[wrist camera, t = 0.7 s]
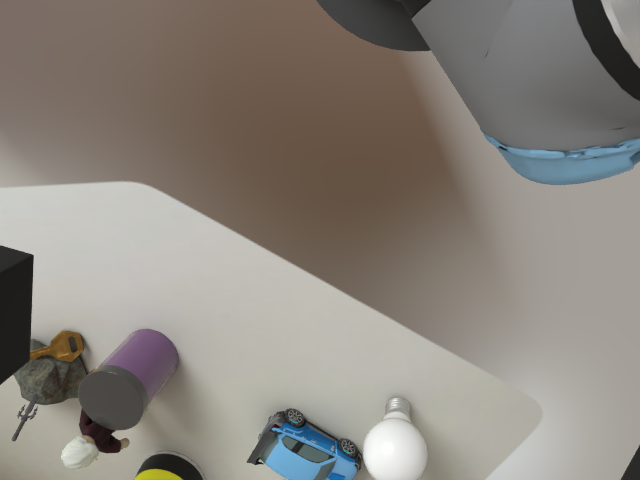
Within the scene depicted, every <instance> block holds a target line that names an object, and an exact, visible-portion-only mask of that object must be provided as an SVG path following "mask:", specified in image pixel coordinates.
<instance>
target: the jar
mask: <svg viewBox="0 0 640 480" xmlns="http://www.w3.org/2000/svg"><path fill="white" fill-rule="evenodd" d="M177 365H178V354H177V351H176V348H175V347H174V345H173V343H172V342H171V341H170V340H169V339H168V338H167V337H166V336H164V335H163V334H161V333H159V332H157V331H154V330H150V329H142V330H138V331H135V332H133V333H132V334H130V335H129V336H128V337H127V338H126V339H125V340H124V341H123V342H122V343H121V344H120V345H119V346H118V347H117V348H116V349H115V350H114V351H113V352H112V353H111V354H110V355H109V356H108V357H107V358H106V359H105V360H104V361H103V362H102V363H101V364H100V365H99V366H98V367H97V368H95V369H93V370H92V371H91V372H90V373H89V374H88V375H87V376H86V377H85V378H84V379H83V380H82V381H81V383H80V386H79V391H78V396H79V401H80V404H81V406H82V408H83V410H84V411H85V413H86V414H87V415H88V416H89V417H90V418H91V419H92V420H93V421H95V422H96V423H97V424H99V425H101V426H103V427H105V428H108V429H112V430H126V429H129V428H132V427H133V426H135V425H136V424H137V423H138V422H139V421H140V420H141V418H142V417H143V416H144V414H145V413H146V411H147V408H148V406H149V404H150V403H151V402H152V400H153V399H154V398H155V397H156V395H157V394H158V393H159V391H160V390H161V389H162V387H163V386H164V385H165V383H166V382H167V381H168V379H169V378H170V377H171V375H172V374H173V373H174V371H175V370H176V368H177Z"/></svg>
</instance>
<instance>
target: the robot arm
mask: <svg viewBox="0 0 640 480" xmlns="http://www.w3.org/2000/svg"><path fill="white" fill-rule="evenodd" d="M395 1H399V2H401V3H402V5H403V6H404V8H405V9H406V11H407V12H408V14H409V16H410V17H411V20H412V21H413V23H414V24H415V26H416V27H417V29H418V31H419V32H420V34H421V35H422V37H423V38H424V40H425V42H426V43H427V45H428V46H429V48H430V49H431V51H432V52H433V54H434V56H435V57H436V59H437V60H438V62H439V63H440V65H441V67H442V68H443V70H444V71H445V73H446V74H447V76H448V77H449V79H450V81H451V82H452V84H453V85H454V87H455V88H456V90H457V92H458V93H459V95H460V96H461V98H462V99H463V101H464V103H465V104H466V106H467V107H468V109H469V110H470V112H471V113H472V115H473V117H474V118H475V120H476V121H477V123H478V124H479V126H480V129H481V131H482V132H483V133H484V136H485V137H486V139H487V140H488V141H489V142H490V143H491V144H493V145H494V146H496V148H497V149H498V150H499V151H500V153H501V154H502V155H503V157H504V158H505V159H506V161H507V162H508V163H509V164H510V165H511V167H512V168H513V169H514V170H515V171H516V172H517V173H518V174H520V175H521V176H523V177H525V178H527V179H529V180H531V181H534V182H538V183H542V184H550V185H567V184H578V183H585V182H590V181H596V180H600V179H604V178H608V177H611V176H614V175H617V174H621V173H624V172H626V171H629V170H631V169H633V168H634V165H635V164H637V163H638V162H639V161H640V0H395ZM33 258H34V255H32V254H28V253H25V252H22V251H18V250H15V249H11V248H8V247H4V246H0V385H1V384H2V383H3V382H4V381H6V380H7V379H8V378H9V377H10V376H12V375H13V374H14V373H15V372H17V371H18V370H19V369H20V368H22V367H23V366H24V365H25V364H26V363H28V362H29V361H30V340H31V313H32V285H33ZM621 480H640V446H639V448H638V450H637V451H636V453H635V455H634V457H633V458H632V460H631V462H630V464H629V466H628V467H627V469H626V471H625V473H624V475H623V477H622V478H621Z"/></svg>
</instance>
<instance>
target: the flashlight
mask: <svg viewBox="0 0 640 480" xmlns="http://www.w3.org/2000/svg"><path fill="white" fill-rule="evenodd" d="M134 480H205V477H204V474H203V473H202V471H201V469H200V468H199V467H198V466H197V465H196V464H195V463H194V462H193V461H192V460H190V459H189V458H187V457H186V456H184V455H181V454H179V453H175V452H170V451H160V452H156V453H153V454H151V455H150V456H148V457H147V458H146V459H145V461H144V462H143V464H142V466H141V468H140V469H139V471H138V473H137V475H136V477H135V479H134Z"/></svg>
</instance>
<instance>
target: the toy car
mask: <svg viewBox="0 0 640 480" xmlns="http://www.w3.org/2000/svg"><path fill="white" fill-rule="evenodd" d="M268 420H269V422H268V424H267V425H266V427H265V429H264V430H263V432H262V434H259V436H258V439H259V440H258V444H257V446H256V447H255V449H254V451H253V452H252V454H251V456H250V457H249V459H248V461H247V463H252V464H254V465H258V464H263V463H261V462H258V461H259V459H261V460H262V461H263V462H264V463H265V464H266V465H267V466H269V467H270V468H271V469H272V470H274V471H275V472H277V473H278V474H280V475H281V476H283V477H285V478H287V479H288V480H352V479H353V478H354V476H355V475H356V473H357V472H358V470H360V469H361V460H362V455H361V453H360V452H359V451H358V452H357V449H356V447H355V445H354V444H353V443H352V442H351V441H349V440H347V439H341V440H339V441H338V443H337V440H338V439H336V438H335V437H333V436H331V435H330V434H328V433H326V432H324V431H323V430H321V429H319V428H318V427H316V426H314V425H313V424H311V423H309V422H307V421H306V423H305V425H304V426H303V427H301V426H302V425H303V424H304V417H303V415H302V414H301V413H300V412H299V411H297V410H295V409H287V410H286V411H285V413H284V411H282V412H277V413H276V414H275V415H274V416H270V417H269V419H268Z"/></svg>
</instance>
